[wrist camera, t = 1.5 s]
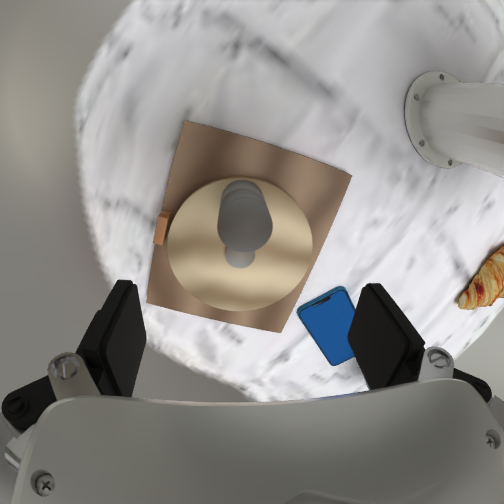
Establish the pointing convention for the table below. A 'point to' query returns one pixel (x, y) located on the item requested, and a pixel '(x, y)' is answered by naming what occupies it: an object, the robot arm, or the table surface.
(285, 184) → the board
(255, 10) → the table surface
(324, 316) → the smartphone
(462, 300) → the croissant
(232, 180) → the dial
